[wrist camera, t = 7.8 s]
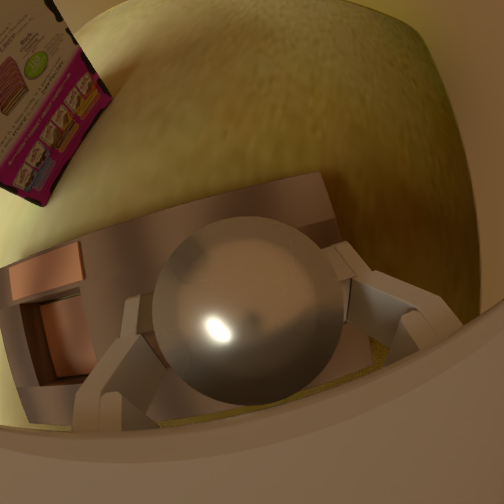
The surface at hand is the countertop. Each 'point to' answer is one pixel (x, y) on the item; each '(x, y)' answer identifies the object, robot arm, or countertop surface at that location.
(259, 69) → the countertop surface
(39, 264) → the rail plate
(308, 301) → the metal peg
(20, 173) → the candy bar box
